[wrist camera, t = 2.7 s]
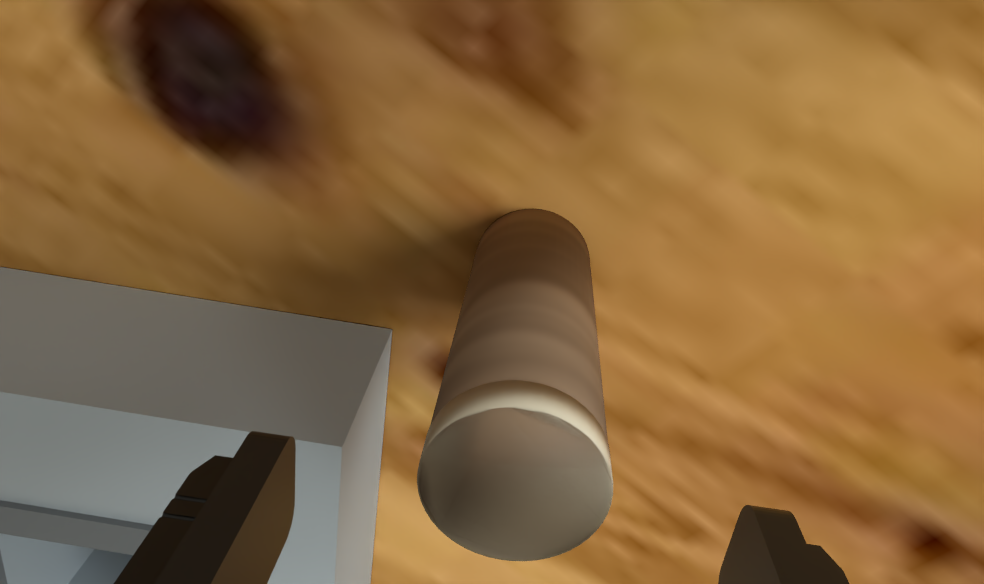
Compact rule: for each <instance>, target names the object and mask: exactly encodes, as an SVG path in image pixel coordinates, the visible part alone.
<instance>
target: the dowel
mask: <svg viewBox="0 0 984 584" xmlns="http://www.w3.org/2000/svg"><path fill="white" fill-rule="evenodd" d="M417 485H418V492H419V496H420V499H421V502H422V505H423V507H424V509H425V511H426V513H427V514H428V516H429V517H430V519H431V520H432V522H433V523H434V524H435V525H436V526H437V527H438V529H440V530H441V531H442V532H443V533H444V534H445V535H446V536H447V537H449V538H450V539H451V540H453V541H454V542H456V543H457V544H459V545H461V546H463V547H464V548H466V549H468V550H471V551H473V552H475V553H478V554H481V555H484V556H487V557H491V558H496V559H500V560H509V561H532V560H540V559H545V558H550V557H553V556H557V555H560V554H562V553H565V552H567V551H569V550H571V549H573V548H575V547H577V546H578V545H580V544H581V543H583V542H584V541H585V540H587V539H588V538H589V537H590V536H591V535H592V534H593V533H594V532H595V531H596V530H597V529H598V528H599V527H600V525H601V524H602V523H603V521H604V519H605V517H606V515H607V514H608V511H609V508H610V505H611V502H612V496H613V478H612V469H611V459H610V451H609V444H608V440H607V430H606V420H605V409H604V399H603V389H602V379H601V369H600V359H599V349H598V339H597V329H596V318H595V308H594V298H593V288H592V278H591V268H590V258H589V251H588V248H587V245H586V242H585V240H584V238H583V237H582V235H581V233H580V232H579V231H578V230H577V228H576V227H575V226H574V225H573V224H572V223H570V222H569V221H568V220H566V219H565V218H563V217H562V216H560V215H558V214H555V213H553V212H550V211H546V210H540V209H524V210H518V211H514V212H511V213H509V214H506V215H504V216H503V217H501V218H499V219H498V220H496V221H495V222H494V223H493V224H492V225H491V226H490V227H489V228H488V229H487V230H486V231H485V233H484V234H483V236H482V238H481V239H480V242H479V244H478V247H477V251H476V254H475V258H474V262H473V266H472V270H471V273H470V277H469V281H468V285H467V289H466V292H465V296H464V300H463V304H462V308H461V311H460V315H459V319H458V323H457V327H456V330H455V334H454V338H453V342H452V346H451V349H450V353H449V357H448V361H447V365H446V368H445V372H444V376H443V380H442V384H441V387H440V391H439V395H438V399H437V403H436V406H435V410H434V414H433V418H432V422H431V425H430V428H429V431H428V433H427V436H426V440H425V444H424V448H423V451H422V455H421V459H420V463H419V468H418V474H417Z"/></svg>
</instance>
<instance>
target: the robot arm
mask: <svg viewBox="0 0 984 584" xmlns="http://www.w3.org/2000/svg"><path fill="white" fill-rule="evenodd" d="M295 459H296V444H295V439H294V437H291V436H284V435H277V434H270V433H264V432H257V431H251V432H250V433H249V434H248V435H247V437H246V438H245V440H244V441H243V443H242V445H241V446H240V448H239V449H238V451H237V453H236V454H235V456H234V457H233V458H231V457H224V456H217V455H215V456H213V457H212V458H211V459H209V460H208V461H206V462H205V463H203V464H202V465H200V466H199V467H198V468H196V469H195V470H193V471H192V472H190V474H189V475H188V477H187V478H186V480H185V481H184V482H183V484H182V485H181V487H180V488H179V490H178V491H177V493H176V494H175V498H174V499H172V500H171V501H170V503H169V504H168V506H167V507H166V508H165V510H164V511H163V515H162V517H159V519H158V520H157V521H156V523H155V524H154V526H153V527H152V529H151V530H150V532H149V533H148V534H147V536H146V537H145V539H144V540H143V542H142V543H141V545H140V546H139V547H138V549H137V550H136V552H135V553H134V555H133V556H132V558H131V559H130V560H129V562H128V563H127V565H126V566H125V568H124V569H123V571H122V572H121V573H120V575H119V576H118V578H117V579H116V581H115V582H114V584H267V583H268V581H269V578H270V576H271V574H272V572H273V569H274V567H275V565H276V563H277V560H278V558H279V556H280V554H281V552H282V549H283V547H284V545H285V543H286V540H287V538H288V535H289V532H290V528H291V524H292V520H293V515H294V507H295ZM718 584H849V582H848V580H847V578H846V576H845V574H844V572H843V570H842V569H841V568H840V567H839V566H838V565H837V564H836V563H835V561H834V560H833V559H832V558H831V557H830V556H829V555H828V554H827V553H826V552H825V551H824V550H823V549H822V547H821V546H817V545H811V544H806V542H805V539H804V537H803V535H802V532H801V530H800V528H799V526H798V523H797V521H796V519H795V517H794V515H793V514H792V513H791V512H790V511H785V510H778V509H771V508H764V507H758V506H751V505H746V506H744V507H743V509H742V510H741V512H740V515H739V518H738V520H737V523H736V526H735V529H734V532H733V535H732V538H731V541H730V543H729V546H728V549H727V552H726V555H725V558H724V561H723V564H722V566H721V570H720V575H719V583H718Z"/></svg>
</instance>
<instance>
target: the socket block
mask: <svg viewBox="0 0 984 584" xmlns="http://www.w3.org/2000/svg"><path fill="white" fill-rule="evenodd" d="M391 339H392V329H387V328H380V327H374V326H368V325H362V324H355V323H349V322H343V321H337V320H330V319H324V318H318V317H311V316H305V315H299V314H293V313H286V312H280V311H274V310H268V309H261V308H255V307H249V306H243V305H236V304H230V303H224V302H217V301H211V300H205V299H199V298H192V297H186V296H180V295H174V294H167V293H161V292H155V291H148V290H142V289H136V288H130V287H123V286H117V285H111V284H105V283H98V282H92V281H86V280H80V279H73V278H67V277H61V276H54V275H48V274H42V273H36V272H29V271H23V270H17V269H11V268H4V267H0V584H114V582H115V581H116V579H117V578H118V576H119V575H120V573H121V572H122V571H123V569H124V568H125V566H126V565H127V563H128V562H129V560H130V559H131V558H132V556H133V555H134V553H135V552H136V550H137V549H138V547H139V546H140V545H141V543H142V542H143V540H144V539H145V537H146V536H147V534H148V533H149V532H150V530H151V529H152V527H153V526H154V524H155V523H156V521H157V520H158V519H159V517H162V515H163V511H164V510H165V508H166V507H167V506H168V504H169V503H170V501H171V500H172V499H174V498H175V494H176V493H177V491H178V490H179V488H180V487H181V485H182V484H183V482H184V481H185V480H186V478H187V477H188V475H189V474H190V472H192V471H193V470H195V469H196V468H198V467H199V466H200V465H202V464H203V463H205V462H206V461H208V460H209V459H211V458H212V457H213V456H215V455H217V456H224V457H231V458H233V457H234V456H235V454H236V453H237V451H238V449H239V448H240V446H241V445H242V443H243V441H244V440H245V438H246V437H247V435H248V434H249V433H250V432H251V431H257V432H264V433H270V434H277V435H284V436H291V437H294V439H295V444H296V459H295V507H294V515H293V520H292V524H291V528H290V532H289V535H288V538H287V540H286V543H285V545H284V547H283V549H282V552H281V554H280V556H279V558H278V560H277V563H276V565H275V567H274V569H273V572H272V574H271V576H270V578H269V581H268V583H267V584H370V583H371V571H372V560H373V548H374V536H375V525H376V513H377V502H378V490H379V478H380V467H381V455H382V444H383V432H384V421H385V409H386V397H387V386H388V374H389V363H390V351H391Z"/></svg>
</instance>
